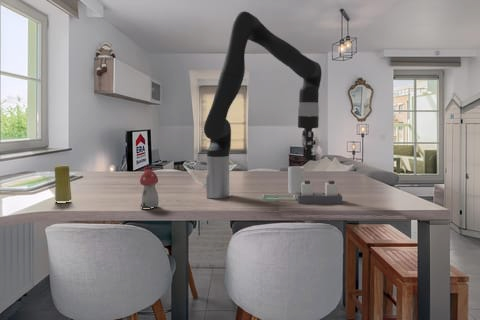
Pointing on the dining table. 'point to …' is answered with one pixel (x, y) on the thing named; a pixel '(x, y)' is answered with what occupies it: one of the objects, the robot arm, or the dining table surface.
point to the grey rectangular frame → (319, 199)
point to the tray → (274, 198)
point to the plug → (307, 188)
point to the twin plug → (331, 188)
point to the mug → (295, 178)
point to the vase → (62, 183)
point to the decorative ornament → (149, 189)
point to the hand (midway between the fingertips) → (307, 158)
